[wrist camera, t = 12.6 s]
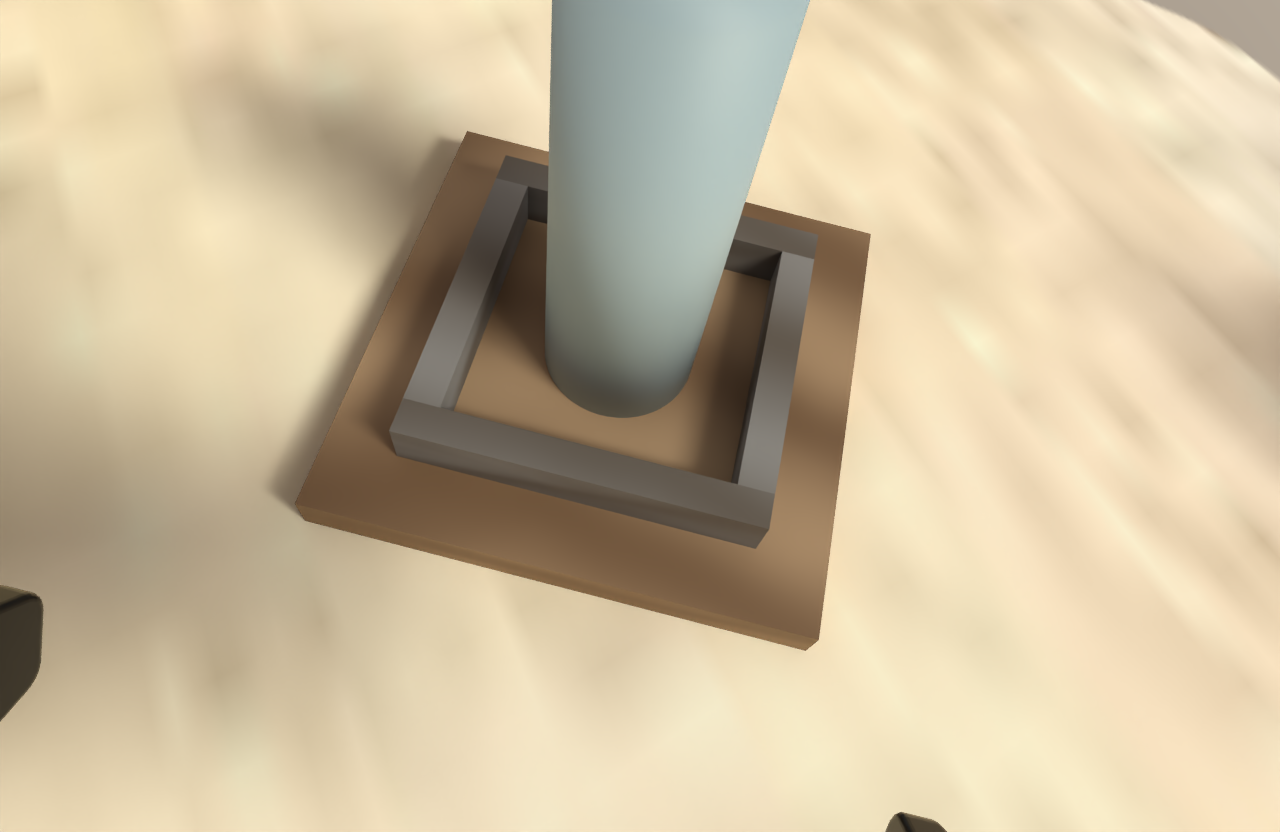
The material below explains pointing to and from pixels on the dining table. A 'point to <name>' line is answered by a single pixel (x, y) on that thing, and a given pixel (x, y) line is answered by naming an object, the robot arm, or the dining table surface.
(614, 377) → the pale blue cylinder
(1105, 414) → the dining table surface
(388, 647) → the dining table surface
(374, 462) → the cradle board
